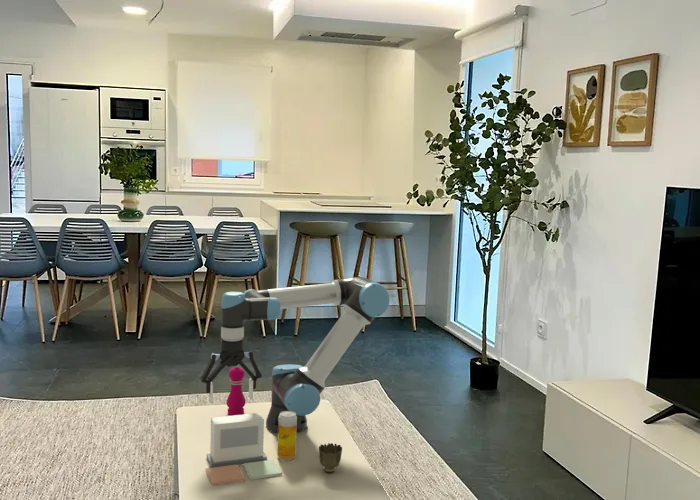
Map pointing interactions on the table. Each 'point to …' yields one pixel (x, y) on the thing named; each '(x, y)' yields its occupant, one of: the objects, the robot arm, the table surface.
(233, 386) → the pepper mill
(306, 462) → the table surface
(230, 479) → the terracotta pad
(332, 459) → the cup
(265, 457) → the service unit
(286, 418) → the beer can
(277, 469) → the sage pad
